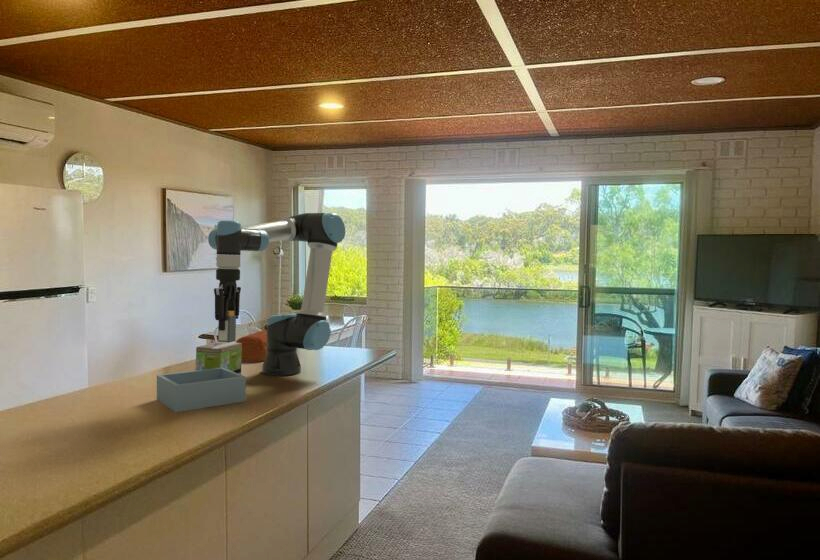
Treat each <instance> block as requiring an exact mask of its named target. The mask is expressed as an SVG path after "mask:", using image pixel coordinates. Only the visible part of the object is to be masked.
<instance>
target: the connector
mask: <svg viewBox="0 0 820 560" xmlns="http://www.w3.org/2000/svg"><path fill="white" fill-rule="evenodd" d="M226 320H228V340H227V341H223V340H219V322H218V327H217V330H218V331H217V333H218V334H217V342H236V334H237V333H236V328H237V327H236V326H237V325H236V324H237V319H236V315H234V311H227V319H226Z"/></svg>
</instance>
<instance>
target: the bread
mask: <svg viewBox="0 0 820 560" xmlns="http://www.w3.org/2000/svg"><path fill="white" fill-rule="evenodd" d="M235 343H242V360H241V362H252V363H253V362H254V363H258V362H260V363H261V362H264V360H265V357H266V354H267V330H259V331H257V332H254V333H250V334H247V335H244V336H242V337H239V338H238V339H236V340H235Z"/></svg>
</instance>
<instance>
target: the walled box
mask: <svg viewBox="0 0 820 560" xmlns="http://www.w3.org/2000/svg"><path fill="white" fill-rule="evenodd" d="M246 378H247V377H246V376H244V375H242V374H241V375H240V374H238V373H235V372H233V371H231V370H228V369H226V368H223V367H222V368H214V369H205V370H196V369H195V370H191V371H190V370H188V371H181V372H179V371H178V372H173V373H165V374H164V373H163V374H157V375H156V400H157V401H158V402H159V401H160V403H161V404H163V405H164V406H166V407H167V408H169V409H170V410H171V411H174V412H175V413H180V412H187V411H193V410H199V409H205V408H212V407H218V406H222V405H223V406H224V405H230V404H237V403H243V402H246V400H247V399H246V396H247V395H246V390H247V389H246V386H247V385H246V380H247V379H246Z"/></svg>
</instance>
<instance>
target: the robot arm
mask: <svg viewBox="0 0 820 560" xmlns="http://www.w3.org/2000/svg"><path fill="white" fill-rule="evenodd" d="M345 236H346V225H345V222H344V221H343V219H342V217H341V215H339V214H338V213H335V212H307V213H306V212H305V213H300V214H295V215H292V216H287V217H282V218H281V219H279V220H277V221H276V220H275V221H270V222H263V223H256V224H248V225H243V226H242V223H241V221H237V220H219V221H218V222H217V225H216V228H214V229H212V230H211V231H210V232H209V233H208V235H207V239H208V240H207V242H208V244H209V246H210V247H211V249H213V250H215V251H216V258H215V260H216V264H215V265H216V268H217V269H216V270H215V279H216V280H217V281H219V283H218V288H213V294H214V319H215V320H216V321H218V323H219V340H223V341H227V340H228V320H226V319H227V311H234V315H236V320H238V319H239V316H240V299H241V297H240V296H241V290H242V287H240V286H237V281H240V279H241V270H240V268H241V252H242V251H243V252H244V251H245V252H263V251H265V250H266V249H267V248H268V246H269V244H270V243H272V242H273V243H274V242H278V241H280V242H281V241H284V242H287V243H288V242H304V243H307V246H308V247H309V249H310V250H309V257H308V263H307V270H306V276H305V282H304V289H303V297H302V301H301V303H302V304H301V308H300V310H299V311H297V312H296V313H286V314H274V315H270V316H269V317H268V318H267V322H266V323H267V325H266V331H267V354H266V357H265V360H264V361H263V364H262V367H261V368H262V369H261V373H263V374H265V375H268V376H291V375H296V374H299V373H301V371H302V367H301V366H302V365H301V362H300V358H299V355H298V352H297V351H298V349H300V350H301V349H302V350H307V351H319V350H321V349H323V348H324V347H325V346H326V345H327V344H328V342H329V340H330V337H331V332H332V328H331V325H330V323H329V322H327V315H326V314H325V312H324V309H325V304H326V303H325V302H326V296H327V290H328V282H329V276H330V270H331V263H332V257H333V252H334V251H336V250H338V249H337V248H338V244H339V243H341V242H343V240H344V239H345Z"/></svg>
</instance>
